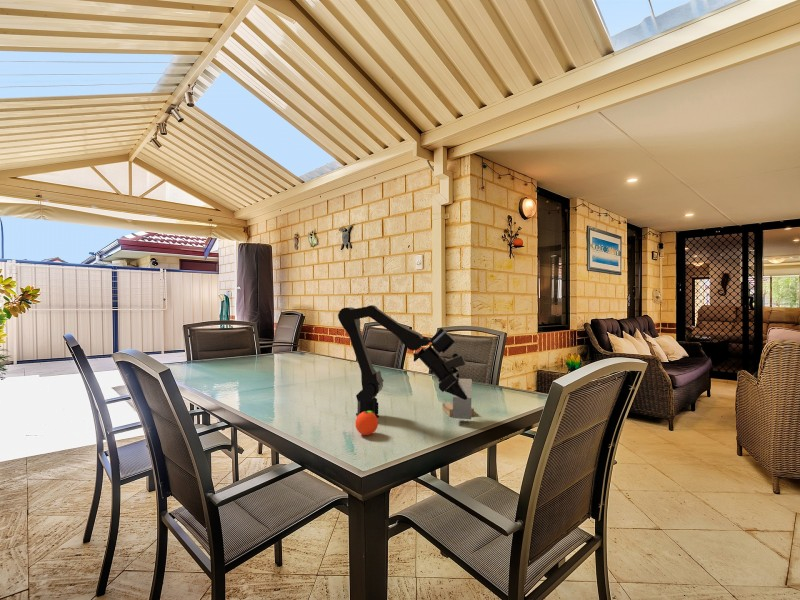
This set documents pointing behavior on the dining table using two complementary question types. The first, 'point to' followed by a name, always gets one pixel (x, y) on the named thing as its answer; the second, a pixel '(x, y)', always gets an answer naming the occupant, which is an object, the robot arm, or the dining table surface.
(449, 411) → the stand
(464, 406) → the block
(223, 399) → the dining table surface
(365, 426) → the clementine
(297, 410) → the dining table surface
